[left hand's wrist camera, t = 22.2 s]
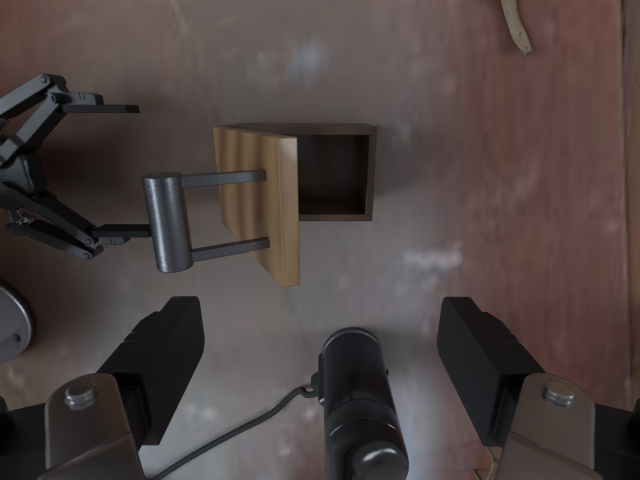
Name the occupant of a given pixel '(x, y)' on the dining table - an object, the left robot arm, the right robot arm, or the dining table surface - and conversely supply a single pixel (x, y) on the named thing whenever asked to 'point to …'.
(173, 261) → the lid
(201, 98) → the dining table surface
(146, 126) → the dining table surface
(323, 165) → the chest
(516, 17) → the jawbone
